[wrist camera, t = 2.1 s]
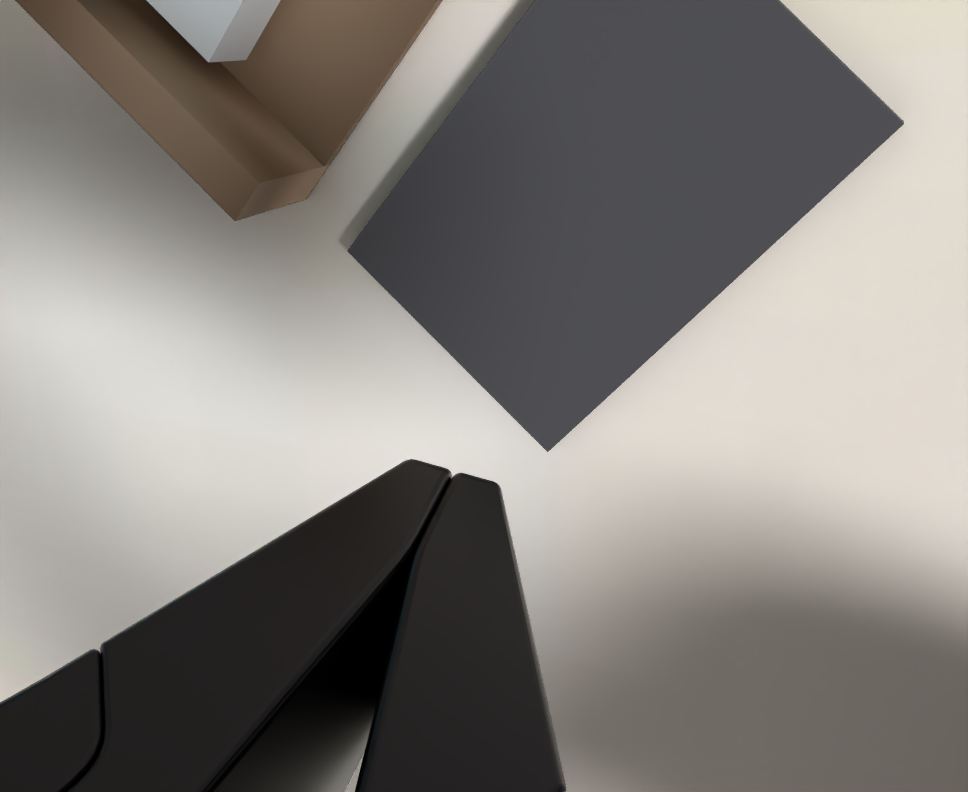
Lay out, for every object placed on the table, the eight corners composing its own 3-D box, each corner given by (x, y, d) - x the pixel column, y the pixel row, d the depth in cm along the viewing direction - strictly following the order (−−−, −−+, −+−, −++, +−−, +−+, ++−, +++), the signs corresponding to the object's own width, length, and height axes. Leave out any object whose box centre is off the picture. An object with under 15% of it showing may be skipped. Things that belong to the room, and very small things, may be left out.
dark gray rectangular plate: (903, 122, 15) (903, 123, 15) (553, 444, 20) (547, 451, 19) (642, -133, 15) (636, -137, 15) (356, 246, 20) (347, 251, 20)
